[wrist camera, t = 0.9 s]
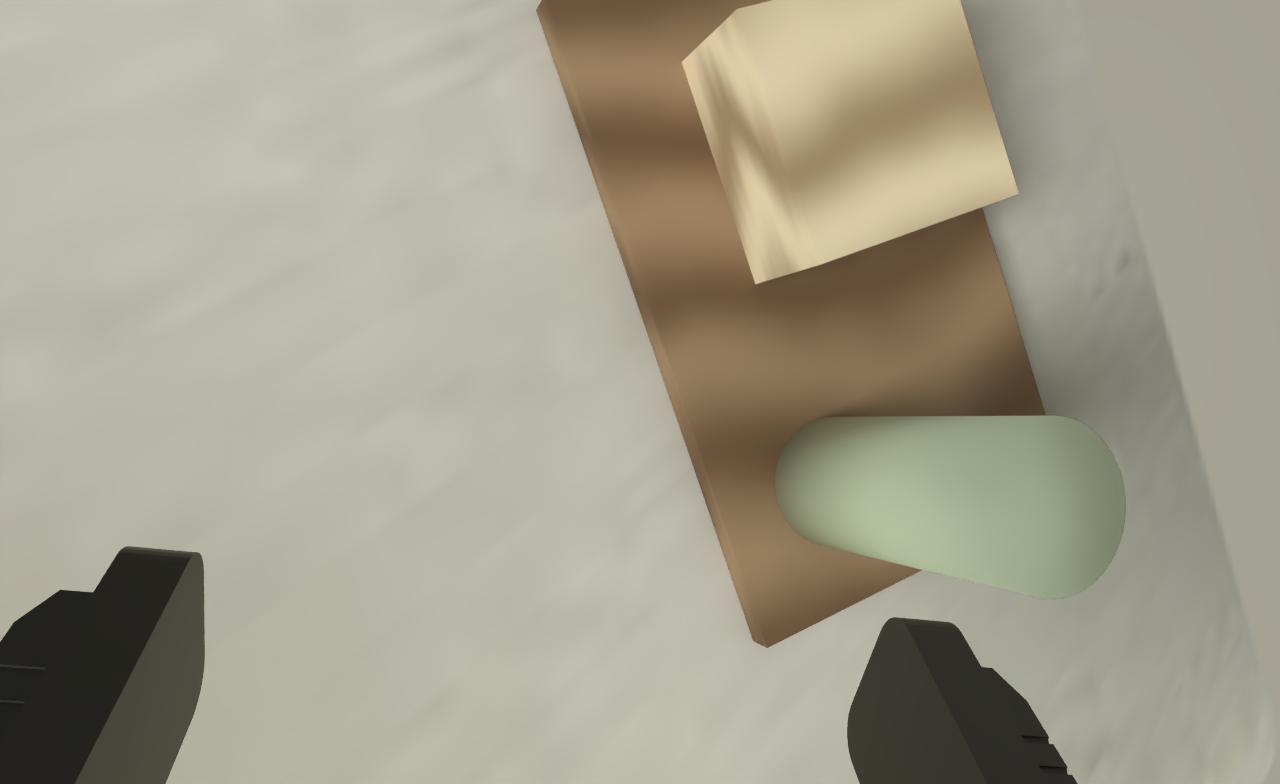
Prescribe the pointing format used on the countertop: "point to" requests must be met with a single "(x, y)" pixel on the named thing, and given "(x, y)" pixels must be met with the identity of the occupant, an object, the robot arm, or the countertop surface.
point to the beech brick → (845, 125)
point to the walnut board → (771, 307)
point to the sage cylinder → (960, 496)
